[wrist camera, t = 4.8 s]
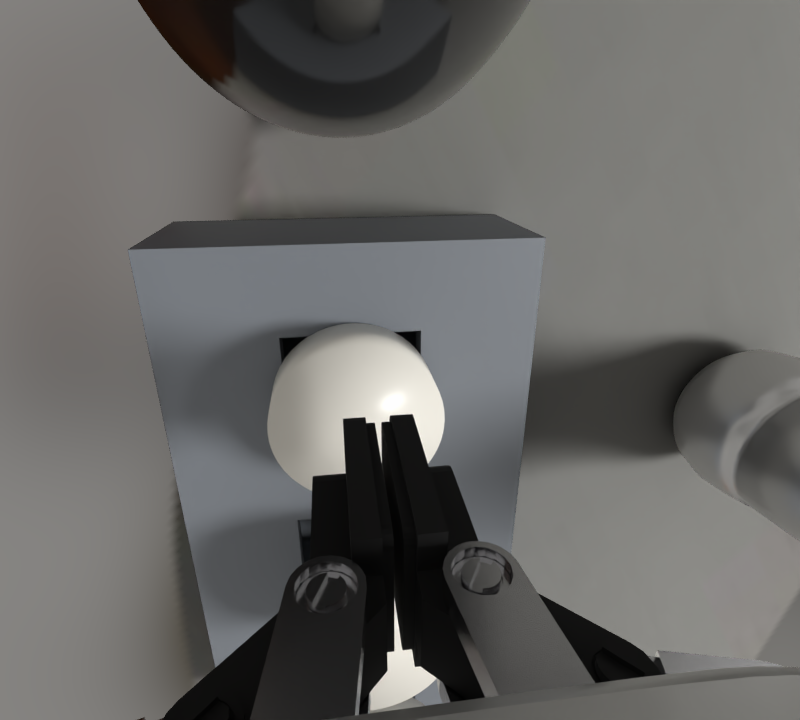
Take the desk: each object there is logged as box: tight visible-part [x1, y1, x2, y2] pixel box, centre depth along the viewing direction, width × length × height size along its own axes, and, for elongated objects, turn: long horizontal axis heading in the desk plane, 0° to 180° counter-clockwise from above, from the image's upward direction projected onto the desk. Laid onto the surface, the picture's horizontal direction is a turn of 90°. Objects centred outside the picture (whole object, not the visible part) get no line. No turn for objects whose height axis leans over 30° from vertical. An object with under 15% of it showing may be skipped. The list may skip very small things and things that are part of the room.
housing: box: [128, 214, 546, 706], centre depth 22 cm, size 24×12×5 cm, turn 0°
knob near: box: [267, 323, 445, 491], centre depth 18 cm, size 5×5×6 cm
